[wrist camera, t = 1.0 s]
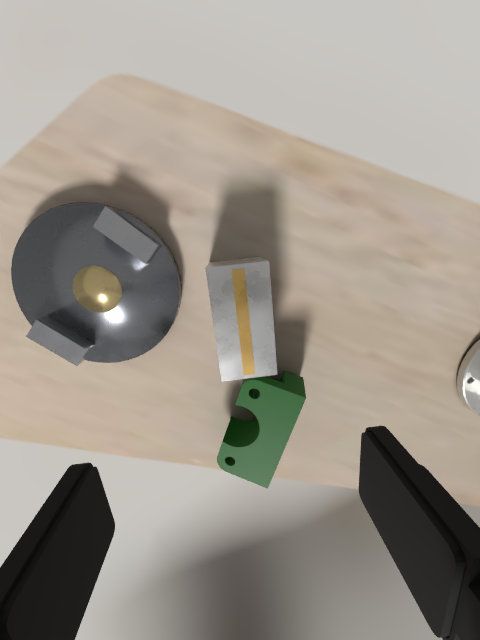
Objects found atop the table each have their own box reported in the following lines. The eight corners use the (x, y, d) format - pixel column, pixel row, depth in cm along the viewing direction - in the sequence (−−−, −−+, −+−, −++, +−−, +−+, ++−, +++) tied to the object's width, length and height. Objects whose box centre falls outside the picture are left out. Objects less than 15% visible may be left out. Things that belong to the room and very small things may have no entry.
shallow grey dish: (71, 167, 23) (49, 156, 20) (211, 272, 26) (209, 276, 23) (-4, 301, 26) (-33, 308, 23) (131, 381, 29) (120, 396, 26)
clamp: (251, 359, 34) (251, 358, 25) (295, 375, 33) (311, 379, 24) (219, 451, 32) (207, 485, 23) (265, 470, 32) (270, 512, 23)
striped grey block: (259, 256, 26) (269, 260, 20) (266, 348, 29) (277, 375, 23) (209, 262, 26) (205, 268, 20) (221, 353, 29) (221, 382, 23)
